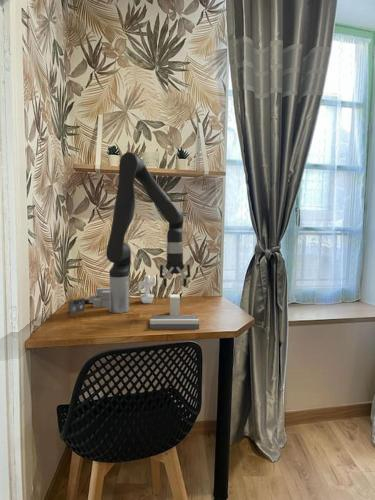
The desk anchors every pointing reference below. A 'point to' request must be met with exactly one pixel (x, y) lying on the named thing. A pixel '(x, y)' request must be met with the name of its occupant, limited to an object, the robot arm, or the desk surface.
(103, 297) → the grey stepped block
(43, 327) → the desk surface
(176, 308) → the tea carton
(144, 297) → the white potted plant
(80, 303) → the mini dv tape
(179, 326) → the shelf board
